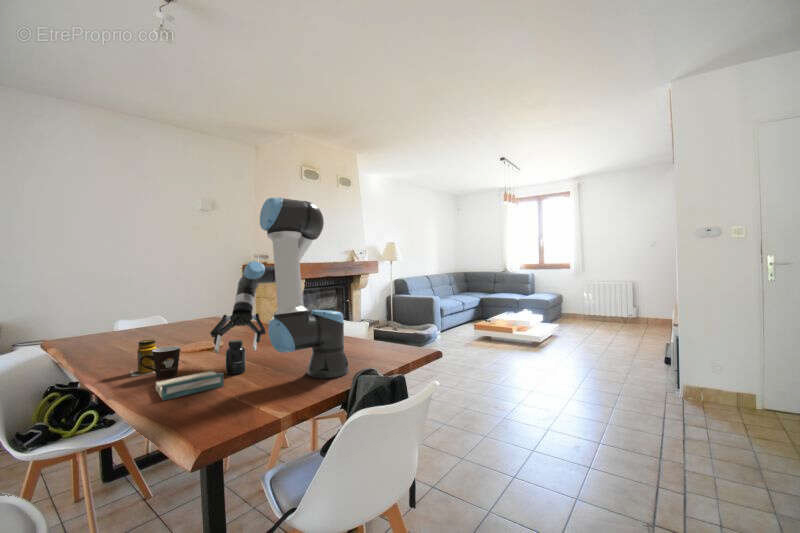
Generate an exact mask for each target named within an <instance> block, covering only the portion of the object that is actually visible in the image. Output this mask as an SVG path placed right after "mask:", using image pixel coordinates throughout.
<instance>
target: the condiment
mask: <svg viewBox="0 0 800 533" xmlns="http://www.w3.org/2000/svg"><path fill="white" fill-rule="evenodd" d="M137 343H138V348H137V355H136V356H137V370H133V371H129V374H130V376H131V377H137V376H143V375H149V374H156V372H155V371H153V370H151V369H148V368H145V367H143V366H142V365H141V364H140V359H141V358H142V357H143V356H146V355H151V356H153V352H152V350H154V349H157V348H158V347H157V346H156V340H155V339H145V340H140V341H138V342H137ZM142 364H143V365H145V366H147V367H150V368H153V369H155V365H154V361H153V360H152V358H151V357H145V358H143V359H142Z"/></svg>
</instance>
